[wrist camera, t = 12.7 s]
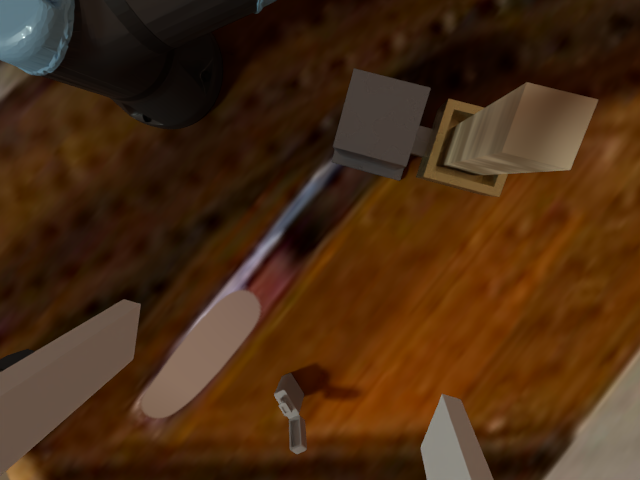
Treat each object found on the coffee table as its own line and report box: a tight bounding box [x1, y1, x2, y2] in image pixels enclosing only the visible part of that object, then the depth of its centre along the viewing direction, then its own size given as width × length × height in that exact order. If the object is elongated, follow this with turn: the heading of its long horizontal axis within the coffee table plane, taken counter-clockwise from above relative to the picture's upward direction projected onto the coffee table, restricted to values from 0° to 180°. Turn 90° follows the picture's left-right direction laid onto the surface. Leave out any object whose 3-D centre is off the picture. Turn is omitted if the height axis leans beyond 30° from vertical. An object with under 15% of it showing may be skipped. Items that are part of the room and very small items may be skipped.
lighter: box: [274, 373, 307, 454], centre depth 48 cm, size 7×2×8 cm, turn 31°
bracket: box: [332, 69, 508, 197], centre depth 38 cm, size 18×9×13 cm, turn 75°
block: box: [438, 82, 598, 176], centre depth 29 cm, size 4×4×18 cm
